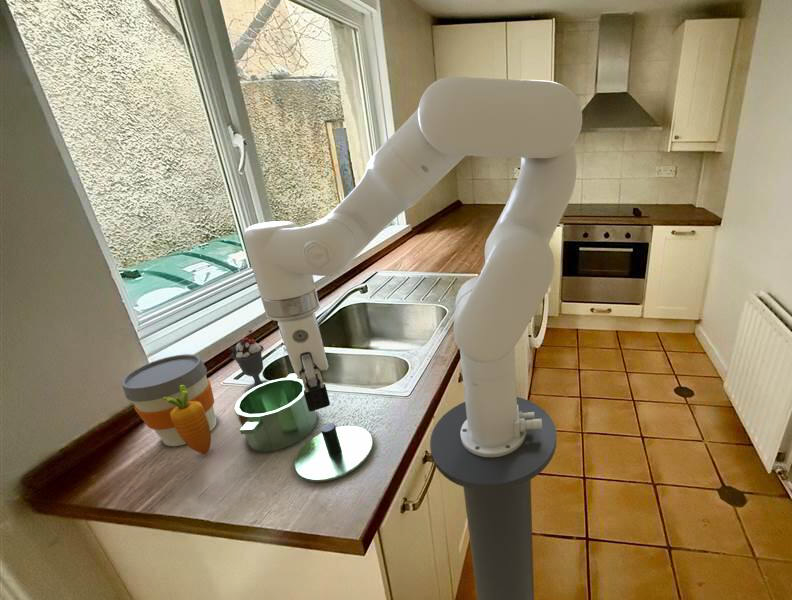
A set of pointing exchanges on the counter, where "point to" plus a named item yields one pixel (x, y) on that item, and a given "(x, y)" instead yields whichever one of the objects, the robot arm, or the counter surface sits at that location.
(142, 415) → the reusable coffee cup
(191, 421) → the carrot
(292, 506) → the counter surface
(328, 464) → the lid
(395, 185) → the robot arm
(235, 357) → the sundae
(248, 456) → the counter surface
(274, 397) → the pot
